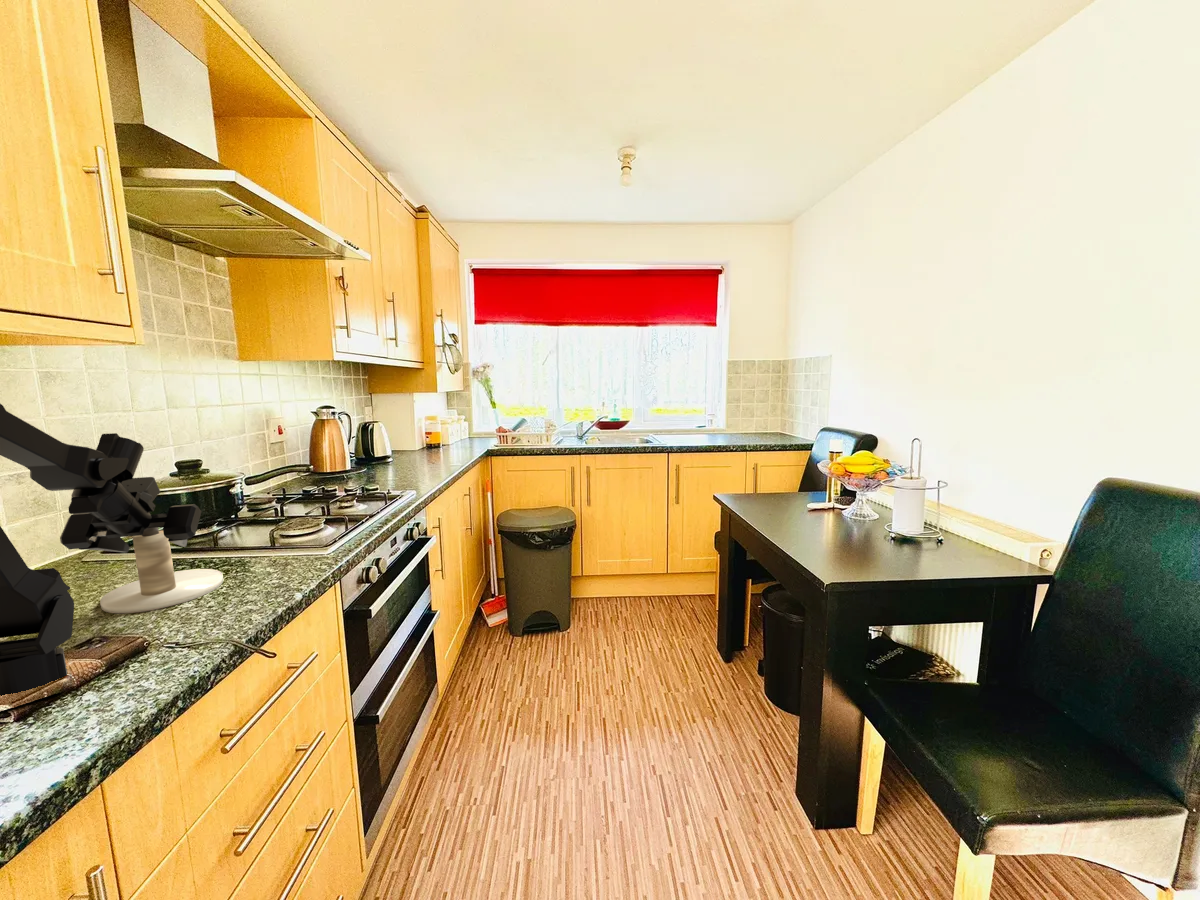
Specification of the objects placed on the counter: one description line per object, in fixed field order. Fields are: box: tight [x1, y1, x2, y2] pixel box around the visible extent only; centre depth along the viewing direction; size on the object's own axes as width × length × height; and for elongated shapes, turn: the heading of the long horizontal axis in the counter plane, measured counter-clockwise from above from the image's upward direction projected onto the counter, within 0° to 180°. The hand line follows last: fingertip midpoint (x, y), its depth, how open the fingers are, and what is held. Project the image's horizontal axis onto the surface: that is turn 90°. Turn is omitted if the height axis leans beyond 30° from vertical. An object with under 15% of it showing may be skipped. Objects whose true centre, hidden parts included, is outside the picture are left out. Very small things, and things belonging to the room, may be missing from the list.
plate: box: [99, 568, 224, 614], centre depth 98 cm, size 18×18×1 cm
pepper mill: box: [132, 527, 176, 596], centre depth 95 cm, size 5×5×13 cm
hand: (157, 547), depth 96 cm, fingers open, 9 cm apart
